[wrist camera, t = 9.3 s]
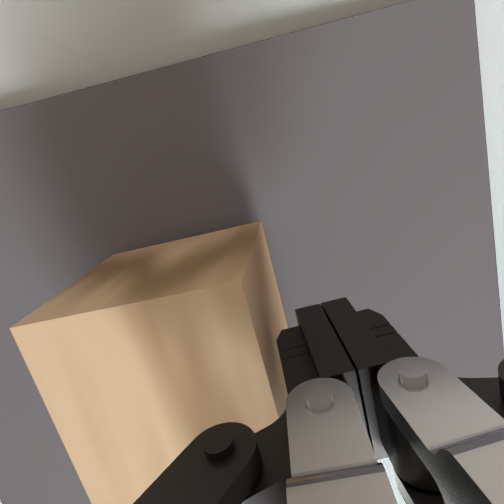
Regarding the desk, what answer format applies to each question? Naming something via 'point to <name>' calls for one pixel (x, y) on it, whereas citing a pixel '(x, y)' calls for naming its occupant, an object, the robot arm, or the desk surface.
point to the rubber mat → (263, 192)
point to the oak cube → (158, 355)
